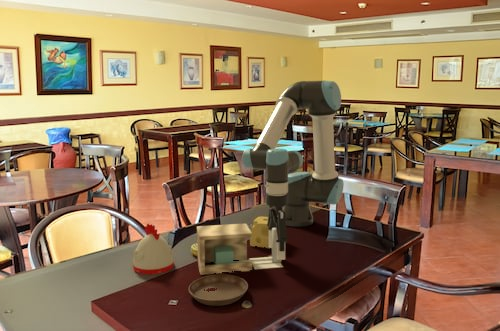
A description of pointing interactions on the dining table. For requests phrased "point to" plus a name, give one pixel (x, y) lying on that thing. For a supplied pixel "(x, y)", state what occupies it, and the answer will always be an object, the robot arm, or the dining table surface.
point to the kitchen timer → (152, 253)
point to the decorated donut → (194, 249)
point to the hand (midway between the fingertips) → (276, 253)
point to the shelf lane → (222, 237)
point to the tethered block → (226, 257)
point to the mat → (265, 264)
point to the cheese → (260, 232)
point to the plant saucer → (218, 289)
